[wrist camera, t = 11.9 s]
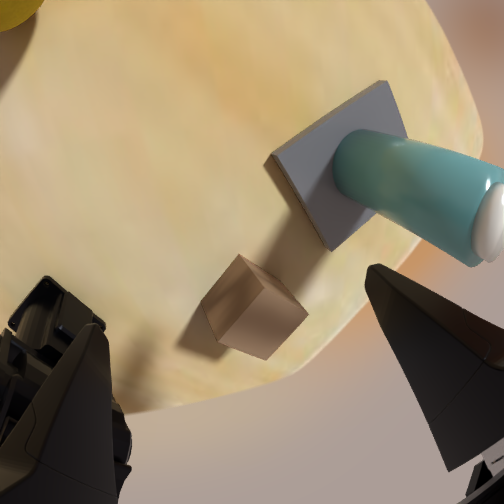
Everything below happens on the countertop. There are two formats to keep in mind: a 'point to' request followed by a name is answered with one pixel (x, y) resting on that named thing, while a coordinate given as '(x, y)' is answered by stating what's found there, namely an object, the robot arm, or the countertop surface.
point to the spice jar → (426, 191)
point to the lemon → (16, 12)
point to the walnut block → (251, 309)
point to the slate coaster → (321, 160)
